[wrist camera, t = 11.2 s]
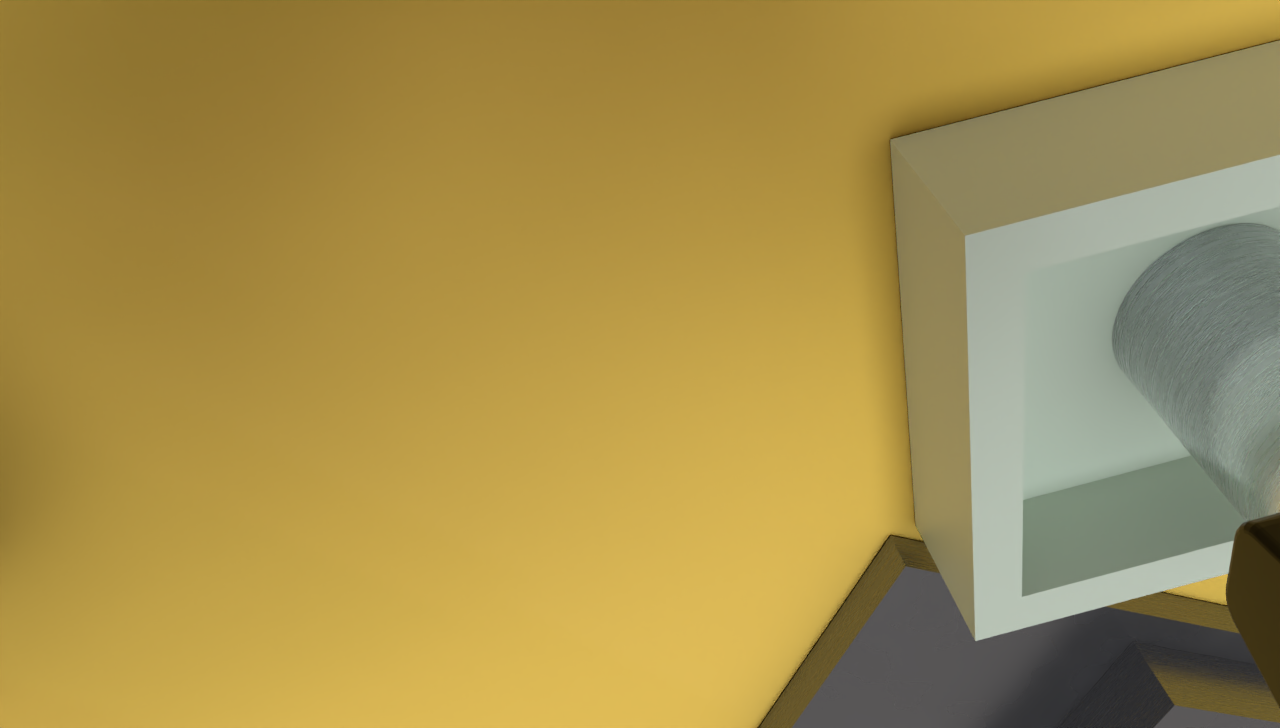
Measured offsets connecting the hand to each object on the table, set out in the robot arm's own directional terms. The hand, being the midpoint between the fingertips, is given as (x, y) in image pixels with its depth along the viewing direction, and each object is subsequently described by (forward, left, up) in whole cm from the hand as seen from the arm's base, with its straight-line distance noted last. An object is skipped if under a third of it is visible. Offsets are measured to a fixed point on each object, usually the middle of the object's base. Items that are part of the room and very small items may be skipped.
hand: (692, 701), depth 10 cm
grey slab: (+9, -21, -13) cm, 26 cm away
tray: (+12, -8, -13) cm, 19 cm away
